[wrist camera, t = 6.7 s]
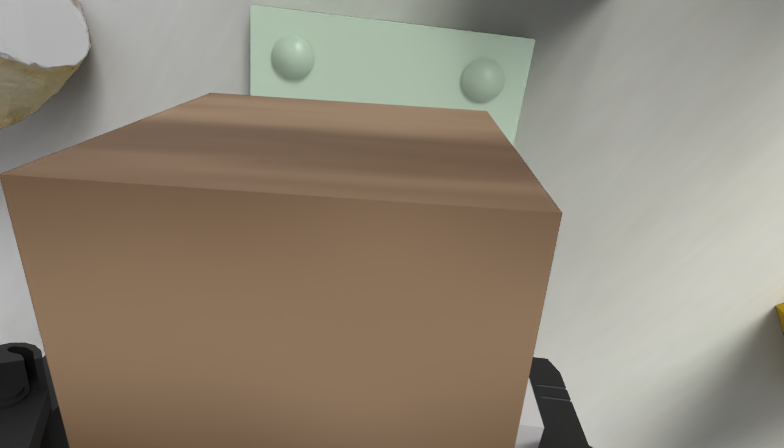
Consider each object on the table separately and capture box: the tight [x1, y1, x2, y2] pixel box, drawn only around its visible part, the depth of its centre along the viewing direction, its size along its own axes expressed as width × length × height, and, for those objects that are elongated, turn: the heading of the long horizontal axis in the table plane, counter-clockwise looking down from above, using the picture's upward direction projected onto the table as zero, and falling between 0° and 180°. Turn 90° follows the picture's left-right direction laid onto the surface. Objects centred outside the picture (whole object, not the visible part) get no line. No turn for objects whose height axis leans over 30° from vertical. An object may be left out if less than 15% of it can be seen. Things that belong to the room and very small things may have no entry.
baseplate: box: [250, 5, 536, 146], centre depth 31 cm, size 16×16×2 cm
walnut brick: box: [0, 93, 562, 448], centre depth 13 cm, size 12×8×8 cm, turn 177°
